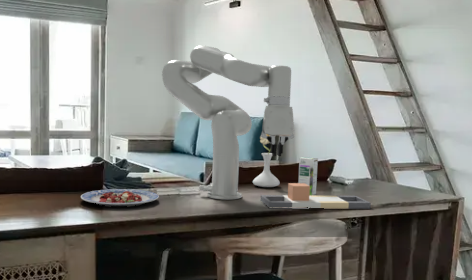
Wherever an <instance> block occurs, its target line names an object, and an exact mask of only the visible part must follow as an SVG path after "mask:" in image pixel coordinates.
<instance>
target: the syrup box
mask: <svg viewBox="0 0 472 280" xmlns="http://www.w3.org/2000/svg"><path fill="white" fill-rule="evenodd" d="M318 163H319V158H317V157H310V156H309V157H308V156H301V157H300V158H299V164H298V182H297V183H305V184H307V185H308V186H310V193H309V195H316V194H317V182H318V181H317V180H318V179H317V178H318Z"/></svg>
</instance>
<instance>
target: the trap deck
mask: <svg viewBox="0 0 472 280" xmlns="http://www.w3.org/2000/svg"><path fill="white" fill-rule="evenodd" d="M261 201H262V202H263V203H262V202H261ZM260 202H261V203H262V204H264V203H265V204H266V205H267V206H268V207H308V208H307V209H309V208H310V207H311V208H324V209H325V210H326V209H328V210H329V209H331V210H332V209H335V210H336V209H339V210H341V209H342V210H343V209H350V210H351V209H355V210H356V209H357V210H358V209H362V210H363V209H364V210H365V209H371V203H372V202H370V201H368V200H366V199H364V198H362V197H359V196H357V195H316V194H315V195H309V201H292V200H291V199H289V198H288V194H285V195H283V194H281V195H280V194H279V195H276V194H273V195H272V194H260ZM265 204H264V205H265ZM266 205H265V206H266ZM267 206H266V207H267ZM268 207H267V208H268Z"/></svg>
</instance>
